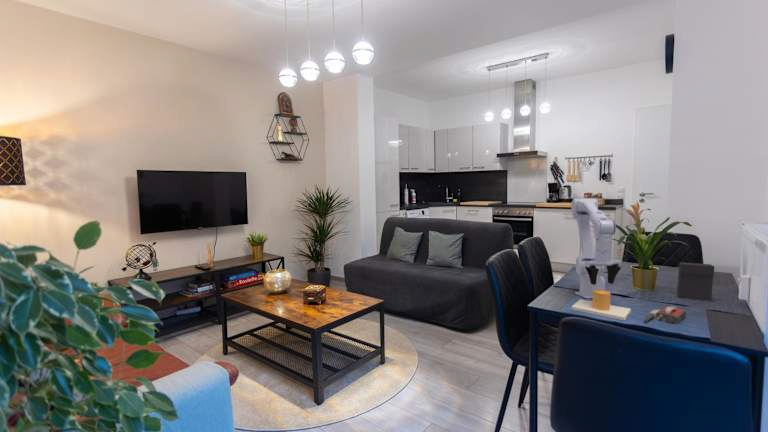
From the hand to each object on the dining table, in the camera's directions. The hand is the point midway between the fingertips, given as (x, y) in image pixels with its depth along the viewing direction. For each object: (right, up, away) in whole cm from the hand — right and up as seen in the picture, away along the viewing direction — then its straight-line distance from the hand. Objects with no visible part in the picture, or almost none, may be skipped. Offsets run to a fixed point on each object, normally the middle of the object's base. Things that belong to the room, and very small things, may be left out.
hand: (601, 283), depth 152 cm
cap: (-3, -9, -4) cm, 10 cm away
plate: (-3, -10, -4) cm, 11 cm away
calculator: (+45, -8, +10) cm, 47 cm away
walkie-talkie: (+16, -11, -13) cm, 23 cm away
